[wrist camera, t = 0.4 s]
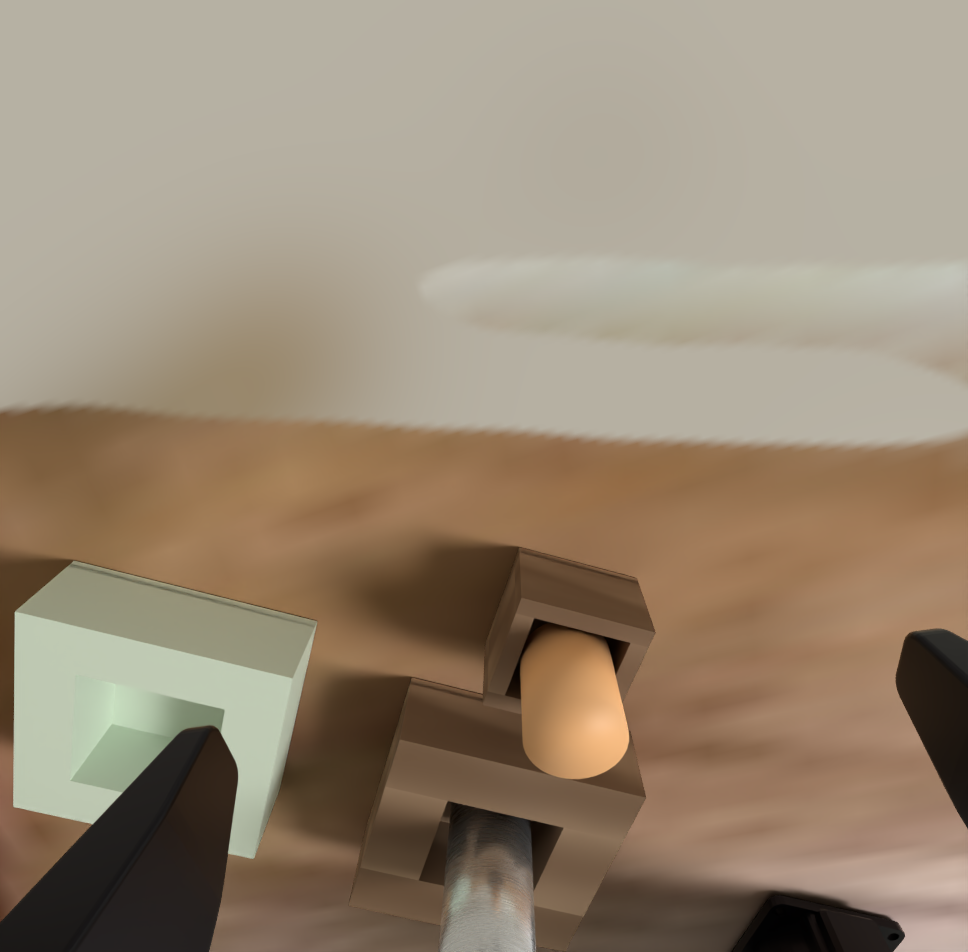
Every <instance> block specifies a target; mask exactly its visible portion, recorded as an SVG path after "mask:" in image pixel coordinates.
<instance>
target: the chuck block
mask: <svg viewBox="0 0 968 952" xmlns="http://www.w3.org/2000/svg"><path fill="white" fill-rule="evenodd" d="M628 731H629V730H628ZM645 799H646V795H645V791H644V787H643V783H642V778H641V774H640V770H639V766H638V761H637V757H636V753H635V749H634V744H633V740H632V736H631V732H630V731H629V743H628V747H627V750H626V752H625V754H624V756H623V757H622V758H621V760H620V761H619V762H618V763H617V764H616V765H615V766H613V767H612V768H611V769H609V770H607V771H606V772H604V773H601V774H599V775H596V776H593V777H589V778H583V779H565V778H560V777H556V776H552V775H550V774H548V773H546V772H544V771H542V770H540V769H539V768H538V767H536V766H535V765H534V764H533V763H532V762H531V761H530V759H529V758H528V756H527V755H526V753H525V750H524V747H523V737H522V714H518V713H514V712H509V711H505V710H501V709H497V708H493V707H489V706H485V705H483V695H482V694H478V693H473V692H469V691H465V690H461V689H457V688H453V687H449V686H445V685H441V684H437V683H433V682H429V681H425V680H420V679H416V678H411V681H410V685H409V688H408V691H407V695H406V698H405V701H404V704H403V708H402V711H401V714H400V718H399V721H398V724H397V727H396V731H395V734H394V737H393V741H392V744H391V747H390V750H389V754H388V757H387V760H386V764H385V767H384V770H383V773H382V777H381V780H380V783H379V787H378V790H377V793H376V796H375V800H374V803H373V806H372V810H371V813H370V816H369V820H368V823H367V826H366V829H365V833H364V837H363V841H362V846H361V850H360V855H359V860H358V864H357V869H356V873H355V878H354V883H353V887H352V892H351V896H350V901H349V906H351V907H356V908H361V909H365V910H370V911H375V912H379V913H384V914H389V915H393V916H398V917H403V918H407V919H412V920H417V921H421V922H426V923H431V924H435V925H440V926H441V914H442V902H443V891H444V879H445V867H446V856H447V844H448V833H449V821H450V809H451V802H454V803H459V804H463V805H468V806H472V807H476V808H481V809H485V810H489V811H494V812H498V813H502V814H507V815H511V816H515V817H520V818H524V819H528V820H530V822H531V845H532V868H533V892H534V915H535V938H536V946H538V947H543V948H548V949H552V950H557V951H562V952H565V951H566V949H567V947H568V945H569V943H570V941H571V939H572V938H573V936H574V934H575V932H576V930H577V928H578V926H579V924H580V922H581V920H582V919H583V917H584V915H585V913H586V911H587V909H588V907H589V905H590V903H591V901H592V900H593V898H594V896H595V894H596V892H597V890H598V888H599V886H600V884H601V882H602V881H603V879H604V877H605V875H606V873H607V871H608V869H609V867H610V865H611V863H612V862H613V860H614V858H615V856H616V854H617V852H618V850H619V848H620V846H621V844H622V843H623V841H624V839H625V837H626V835H627V833H628V831H629V829H630V827H631V825H632V824H633V822H634V820H635V818H636V816H637V814H638V812H639V810H640V808H641V806H642V805H643V803H644V801H645Z"/></svg>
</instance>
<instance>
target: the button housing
mask: <svg viewBox="0 0 968 952" xmlns="http://www.w3.org/2000/svg"><path fill="white" fill-rule="evenodd" d="M550 622H551V623H555V624H559V625H563V626H567V627H571V628H575V629H578V630H582V631H586V632H590V633H594V634H598V635H602V636H603V637H604V638H605V640H606V641H607V643H608V646H609V649H610V653H611V658H612V662H613V666H614V671H615V675H616V679H617V683H618V688H619V692H620V696H621V701H622V703H623V701H624V699H625V696H626V694H627V692H628V690H629V688H630V686H631V684H632V682H633V679H634V677H635V675H636V673H637V671H638V669H639V667H640V665H641V662H642V660H643V658H644V656H645V654H646V652H647V650H648V648H649V645H650V643H651V641H652V639H653V637H654V635H655V633H656V632H655V629H654V627H653V624H652V621H651V618H650V615H649V612H648V609H647V606H646V603H645V601H644V598H643V595H642V592H641V589H640V586H639V583H638V580H637V578H634V577H630V576H626V575H622V574H619V573H615V572H611V571H607V570H603V569H600V568H596V567H592V566H588V565H585V564H581V563H577V562H573V561H570V560H566V559H562V558H558V557H554V556H551V555H547V554H543V553H539V552H536V551H532V550H528V549H524V548H521V547H519V549H518V552H517V555H516V558H515V561H514V564H513V567H512V569H511V572H510V575H509V578H508V581H507V584H506V587H505V589H504V592H503V595H502V598H501V601H500V604H499V607H498V609H497V612H496V615H495V618H494V621H493V624H492V627H491V629H490V632H489V635H488V638H487V641H486V644H485V657H484V681H483V705H485V706H489V707H493V708H497V709H501V710H505V711H509V712H514V713H518V714H522V709H521V680H520V654H521V652H522V649H523V647H524V644H525V641H526V639H527V637H528V636H529V635H530V634H531V633H532V632H533V631H534V630H536V629H537V628H539V627H541V626H543V625H545V624H547V623H550Z"/></svg>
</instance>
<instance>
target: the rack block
mask: <svg viewBox="0 0 968 952" xmlns="http://www.w3.org/2000/svg"><path fill="white" fill-rule="evenodd" d="M316 626H317V621H314V620H310V619H306V618H302V617H298V616H294V615H290V614H286V613H282V612H278V611H274V610H270V609H266V608H262V607H258V606H254V605H250V604H246V603H242V602H238V601H234V600H230V599H226V598H222V597H218V596H214V595H210V594H206V593H202V592H198V591H194V590H190V589H186V588H182V587H178V586H174V585H170V584H166V583H162V582H158V581H154V580H150V579H146V578H142V577H138V576H134V575H130V574H126V573H122V572H118V571H114V570H110V569H106V568H102V567H98V566H94V565H90V564H86V563H82V562H78V561H73V562H72V563H71V564H70V565H68V566H67V567H66V568H65V569H64V570H63V571H61V572H60V573H59V574H58V575H57V576H56V577H54V578H53V579H52V580H51V581H50V582H49V583H47V584H46V585H45V586H44V587H43V588H42V589H40V590H39V591H38V592H37V593H36V594H35V595H33V596H32V597H31V598H30V599H29V600H28V601H26V602H25V603H24V604H23V605H22V606H21V607H19V608H18V609H17V610H16V611H15V655H14V792H13V807H16V808H21V809H26V810H30V811H35V812H40V813H44V814H49V815H53V816H58V817H63V818H67V819H72V820H76V821H81V822H86V823H90V824H93V823H94V822H95V821H96V820H97V819H98V818H99V817H100V816H101V815H102V814H103V813H104V812H105V811H106V810H107V809H108V807H109V806H110V805H111V804H112V803H113V802H114V801H115V800H116V799H117V798H118V797H119V796H120V795H121V794H122V793H123V792H124V791H125V789H126V788H127V787H128V786H129V785H130V784H131V783H132V782H133V781H134V780H135V779H136V778H137V777H138V776H139V775H140V774H141V772H142V771H143V770H144V769H145V768H146V767H147V766H148V765H149V764H150V763H151V762H152V761H153V760H154V759H155V758H156V757H157V755H158V754H159V753H160V752H161V751H162V750H163V749H164V748H165V747H166V746H167V745H168V744H169V743H170V742H171V741H172V740H173V739H174V737H175V736H176V735H177V734H178V733H180V732H181V731H182V730H184V729H187V728H192V727H200V726H207V725H213V726H215V727H216V728H218V729H219V731H220V733H221V734H222V736H223V738H224V740H225V742H226V744H227V746H228V748H229V750H230V752H231V754H232V755H233V757H234V759H235V761H236V764H237V768H238V786H237V793H236V800H235V807H234V814H233V821H232V828H231V836H230V843H229V850H228V854H233V855H238V856H242V857H247V858H251V859H254V857H255V854H256V852H257V849H258V846H259V844H260V841H261V838H262V836H263V833H264V830H265V828H266V825H267V822H268V820H269V817H270V814H271V812H272V809H273V806H274V804H275V801H276V798H277V796H278V793H279V790H280V786H281V782H282V777H283V773H284V768H285V764H286V759H287V755H288V750H289V746H290V741H291V737H292V733H293V728H294V724H295V719H296V715H297V710H298V706H299V701H300V697H301V692H302V688H303V683H304V679H305V675H306V670H307V666H308V661H309V657H310V652H311V648H312V643H313V639H314V634H315V630H316Z"/></svg>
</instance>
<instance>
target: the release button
mask: <svg viewBox="0 0 968 952" xmlns="http://www.w3.org/2000/svg"><path fill="white" fill-rule="evenodd" d="M520 680H521V709H522V737H523V747H524V750H525V753H526V755H527V756H528V758H529V759H530V761H531V762H532V763H533V764H534V765H535V766H536V767H538V768H539V769H540V770H542V771H544V772H546V773H548V774H550V775H552V776H556V777H560V778H565V779H583V778H589V777H593V776H596V775H599V774H601V773H604V772H606V771H607V770H609V769H611V768H612V767H613V766H615V765H616V764H617V763H618V762H619V761H620V760H621V758H622V757H623V756H624V754H625V752H626V750H627V747H628V743H629V731H628V726H627V722H626V718H625V713H624V709H623V705H622V701H621V696H620V692H619V688H618V683H617V679H616V675H615V671H614V666H613V662H612V658H611V653H610V649H609V646H608V643H607V641H606V640H605V638H604V637H603V636H602V635H598V634H594V633H590V632H586V631H582V630H578V629H575V628H571V627H567V626H563V625H559V624H555V623H551V622H550V623H547V624H545V625H543V626H541V627H539V628H537V629H536V630H534V631H533V632H532V633H531V634H530V635H529V636H528V637H527V639H526V641H525V644H524V647H523V649H522V652H521V654H520Z"/></svg>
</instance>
